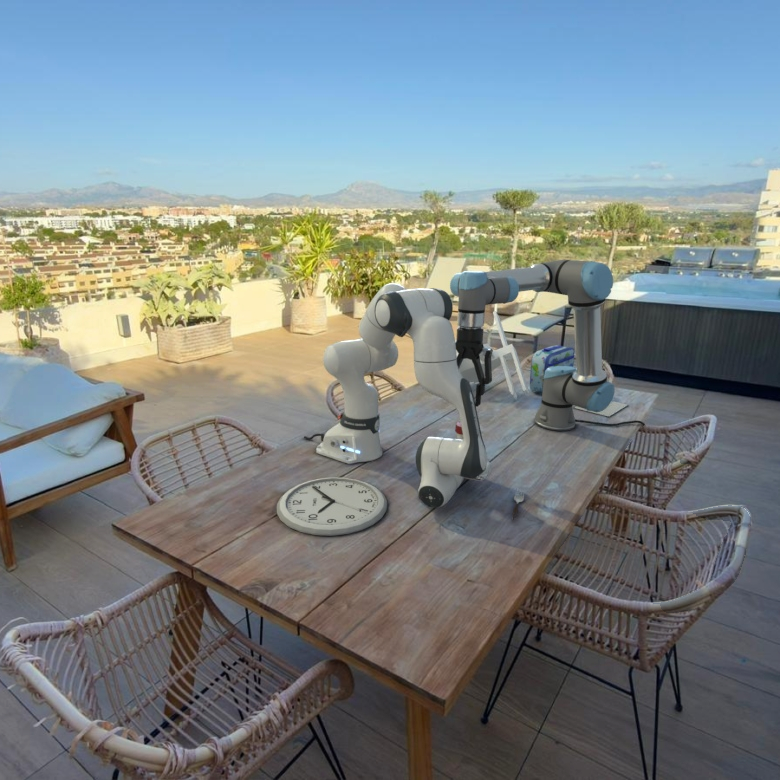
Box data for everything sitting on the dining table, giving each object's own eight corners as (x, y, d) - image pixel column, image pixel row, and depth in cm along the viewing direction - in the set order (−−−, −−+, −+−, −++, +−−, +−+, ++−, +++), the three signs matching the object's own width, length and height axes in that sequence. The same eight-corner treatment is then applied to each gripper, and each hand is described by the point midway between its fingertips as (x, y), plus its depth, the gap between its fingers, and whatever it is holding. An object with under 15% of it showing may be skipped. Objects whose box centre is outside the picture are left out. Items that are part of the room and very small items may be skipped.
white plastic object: (461, 429, 252) (437, 405, 227) (444, 352, 274) (420, 323, 250) (535, 404, 240) (518, 377, 215) (510, 326, 262) (492, 293, 237)
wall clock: (392, 527, 129) (268, 531, 127) (391, 533, 130) (269, 537, 127) (383, 473, 158) (282, 475, 155) (383, 478, 158) (282, 480, 156)
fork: (507, 521, 136) (508, 514, 136) (515, 493, 151) (516, 487, 150) (517, 523, 135) (518, 516, 135) (524, 495, 150) (525, 488, 149)
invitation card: (608, 416, 214) (573, 407, 224) (608, 416, 214) (573, 408, 224) (628, 404, 229) (594, 396, 238) (628, 405, 229) (594, 397, 238)
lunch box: (546, 398, 236) (551, 353, 229) (525, 393, 243) (529, 349, 237) (573, 387, 253) (579, 344, 247) (553, 382, 260) (558, 341, 254)
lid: (465, 436, 155) (466, 428, 154) (451, 431, 158) (452, 424, 158) (475, 431, 158) (476, 424, 158) (462, 427, 162) (462, 419, 161)
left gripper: (485, 470, 145) (497, 451, 157) (416, 456, 152) (432, 439, 165) (484, 490, 146) (495, 470, 159) (416, 475, 154) (431, 458, 166)
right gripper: (508, 328, 147) (501, 405, 154) (443, 321, 157) (439, 394, 163) (500, 332, 141) (493, 412, 148) (433, 325, 150) (429, 400, 157)
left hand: (462, 454), depth 162 cm, fingers closed on jar, 4 cm apart
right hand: (465, 402), depth 156 cm, fingers open, 7 cm apart
